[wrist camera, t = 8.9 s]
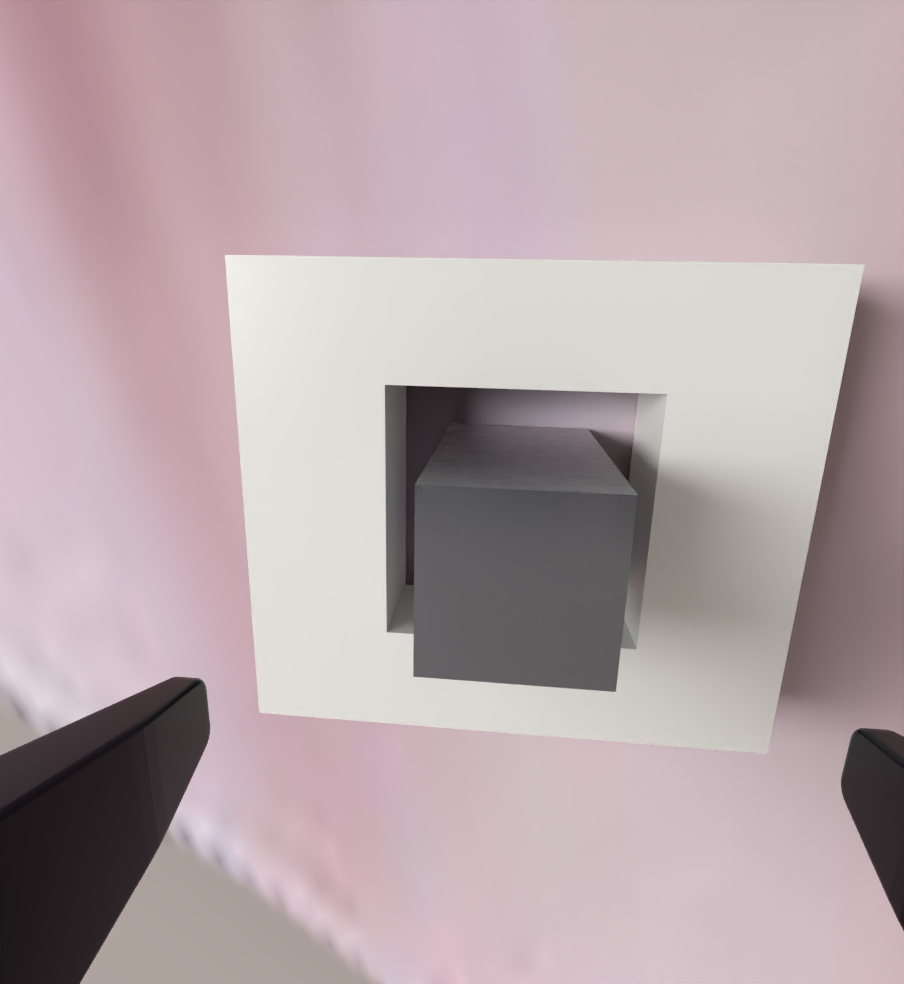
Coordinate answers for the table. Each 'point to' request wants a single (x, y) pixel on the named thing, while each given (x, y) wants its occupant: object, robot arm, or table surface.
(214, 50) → the table surface
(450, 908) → the table surface
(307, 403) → the square frame
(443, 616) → the dark grey square post
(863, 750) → the robot arm
